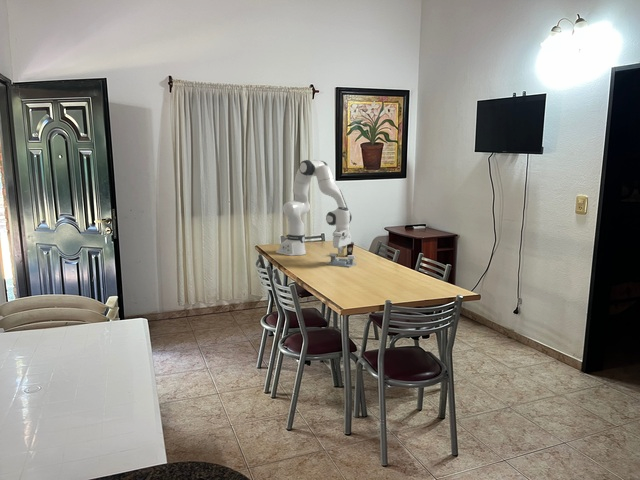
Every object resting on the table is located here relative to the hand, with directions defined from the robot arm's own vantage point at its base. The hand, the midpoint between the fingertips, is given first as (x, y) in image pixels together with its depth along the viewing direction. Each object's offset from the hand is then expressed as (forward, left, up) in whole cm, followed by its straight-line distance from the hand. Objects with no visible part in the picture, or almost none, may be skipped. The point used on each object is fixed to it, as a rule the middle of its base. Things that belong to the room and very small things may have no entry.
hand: (342, 252), depth 329 cm
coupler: (0, 0, -2) cm, 2 cm away
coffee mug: (-10, +26, -8) cm, 29 cm away
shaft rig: (0, 0, -8) cm, 8 cm away
